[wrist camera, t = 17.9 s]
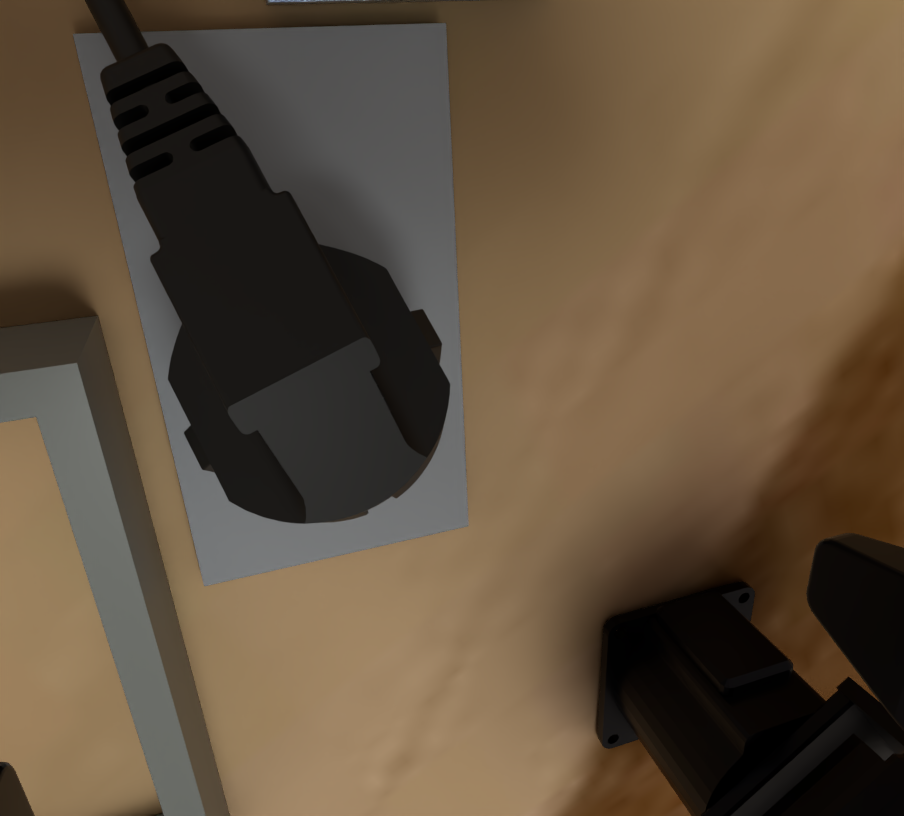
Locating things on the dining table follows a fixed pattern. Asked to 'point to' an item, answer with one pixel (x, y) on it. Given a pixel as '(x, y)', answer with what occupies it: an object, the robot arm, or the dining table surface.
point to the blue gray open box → (343, 1)
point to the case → (115, 545)
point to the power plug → (269, 311)
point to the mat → (332, 223)
